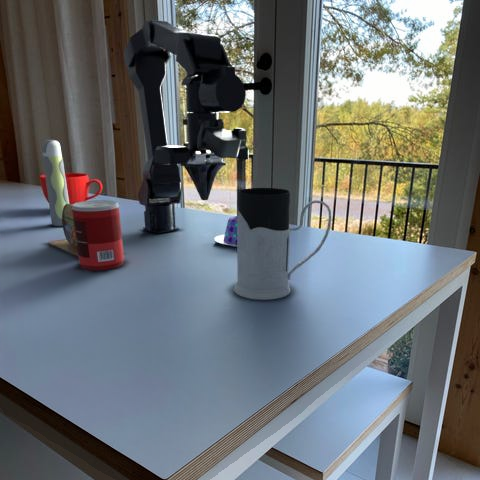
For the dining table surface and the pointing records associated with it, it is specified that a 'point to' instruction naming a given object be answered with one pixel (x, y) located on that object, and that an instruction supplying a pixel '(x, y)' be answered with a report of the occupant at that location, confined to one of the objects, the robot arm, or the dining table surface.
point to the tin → (69, 224)
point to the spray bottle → (55, 180)
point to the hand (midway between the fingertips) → (204, 200)
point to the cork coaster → (65, 246)
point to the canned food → (98, 234)
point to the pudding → (229, 233)
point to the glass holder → (266, 242)
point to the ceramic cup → (74, 187)
